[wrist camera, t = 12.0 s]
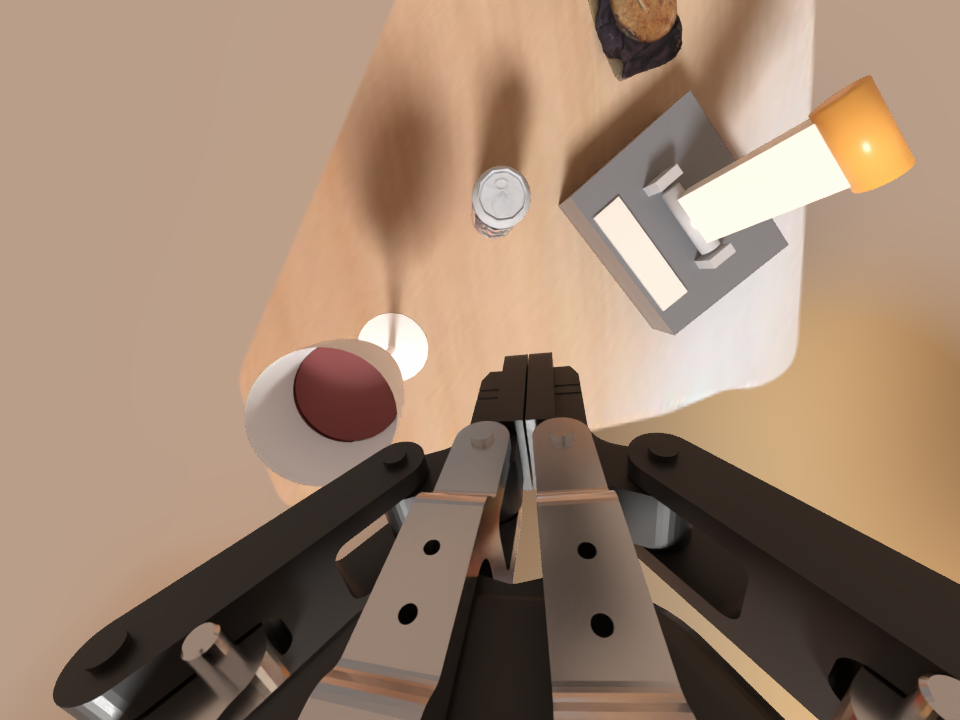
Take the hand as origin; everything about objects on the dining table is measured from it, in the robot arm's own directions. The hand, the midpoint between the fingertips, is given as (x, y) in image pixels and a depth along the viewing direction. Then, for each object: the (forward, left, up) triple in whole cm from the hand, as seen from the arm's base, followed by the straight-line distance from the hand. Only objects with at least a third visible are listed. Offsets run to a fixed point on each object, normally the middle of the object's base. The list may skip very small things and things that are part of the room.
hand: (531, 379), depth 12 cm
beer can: (-8, +5, -32) cm, 33 cm away
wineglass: (0, -12, -32) cm, 35 cm away
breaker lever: (+1, +21, -25) cm, 33 cm away
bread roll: (-19, +25, -33) cm, 46 cm away
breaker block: (+1, +21, -32) cm, 38 cm away
